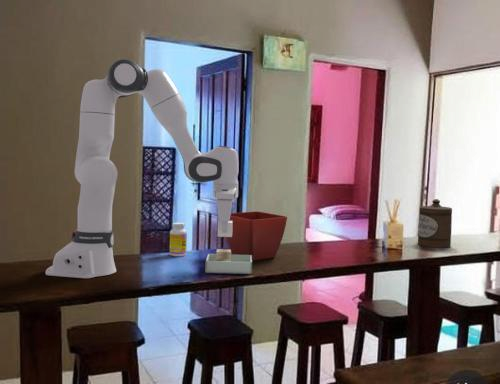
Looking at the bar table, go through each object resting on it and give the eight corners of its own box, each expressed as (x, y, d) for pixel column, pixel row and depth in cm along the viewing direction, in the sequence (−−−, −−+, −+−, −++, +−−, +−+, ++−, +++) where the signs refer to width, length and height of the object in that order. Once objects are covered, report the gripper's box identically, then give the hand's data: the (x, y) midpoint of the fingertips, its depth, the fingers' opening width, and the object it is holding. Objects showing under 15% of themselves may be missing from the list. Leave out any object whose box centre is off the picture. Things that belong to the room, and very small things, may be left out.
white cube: (217, 236, 185) (217, 222, 184) (218, 234, 190) (218, 220, 189) (231, 236, 185) (232, 222, 184) (232, 234, 190) (232, 220, 189)
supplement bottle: (183, 257, 206) (183, 224, 205) (167, 256, 207) (167, 223, 206) (188, 254, 212) (189, 222, 211) (172, 253, 214) (173, 221, 213)
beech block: (215, 268, 185) (216, 251, 185) (216, 265, 190) (217, 249, 190) (230, 269, 186) (230, 252, 185) (230, 265, 190) (230, 249, 190)
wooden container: (411, 242, 257) (413, 197, 255) (437, 242, 261) (439, 197, 260) (430, 248, 243) (433, 200, 241) (457, 247, 247) (460, 200, 245)
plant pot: (250, 264, 198) (251, 219, 196) (219, 255, 212) (220, 213, 211) (287, 258, 210) (288, 216, 209) (256, 250, 225) (257, 211, 223)
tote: (205, 272, 181) (205, 261, 181) (207, 264, 194) (208, 253, 194) (251, 274, 182) (252, 262, 181) (251, 265, 195) (251, 255, 194)
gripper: (218, 189, 196) (217, 226, 197) (215, 194, 176) (214, 235, 177) (235, 190, 196) (234, 226, 197) (234, 194, 176) (233, 236, 177)
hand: (224, 231), depth 187 cm, fingers closed on white cube, 5 cm apart
